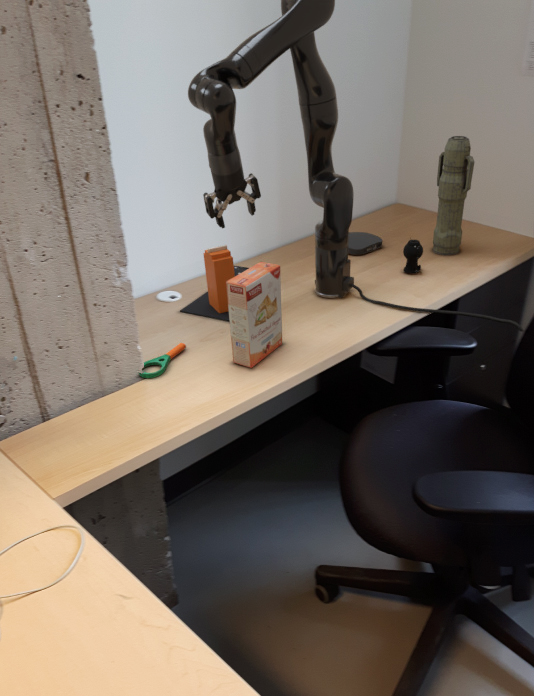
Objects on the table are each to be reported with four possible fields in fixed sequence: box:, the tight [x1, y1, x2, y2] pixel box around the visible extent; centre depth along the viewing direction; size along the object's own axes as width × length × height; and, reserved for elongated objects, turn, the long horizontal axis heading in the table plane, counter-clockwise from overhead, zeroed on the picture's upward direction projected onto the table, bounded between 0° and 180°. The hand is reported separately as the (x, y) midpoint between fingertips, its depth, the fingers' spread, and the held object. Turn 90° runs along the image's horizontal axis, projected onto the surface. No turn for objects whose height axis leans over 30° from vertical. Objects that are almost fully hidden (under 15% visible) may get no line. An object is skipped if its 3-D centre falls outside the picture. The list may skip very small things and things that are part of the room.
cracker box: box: [226, 261, 283, 369], centre depth 139 cm, size 14×6×21 cm, turn 148°
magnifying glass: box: [138, 342, 187, 379], centre depth 142 cm, size 15×6×2 cm, turn 150°
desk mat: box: [179, 291, 230, 323], centre depth 167 cm, size 20×14×1 cm
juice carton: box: [202, 244, 235, 313], centre depth 162 cm, size 17×6×8 cm
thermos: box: [432, 135, 475, 256], centre depth 187 cm, size 9×12×35 cm
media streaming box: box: [348, 231, 383, 256], centre depth 203 cm, size 15×15×3 cm
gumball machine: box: [402, 237, 424, 275], centre depth 180 cm, size 7×6×10 cm
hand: (237, 219), depth 153 cm, fingers open, 8 cm apart
